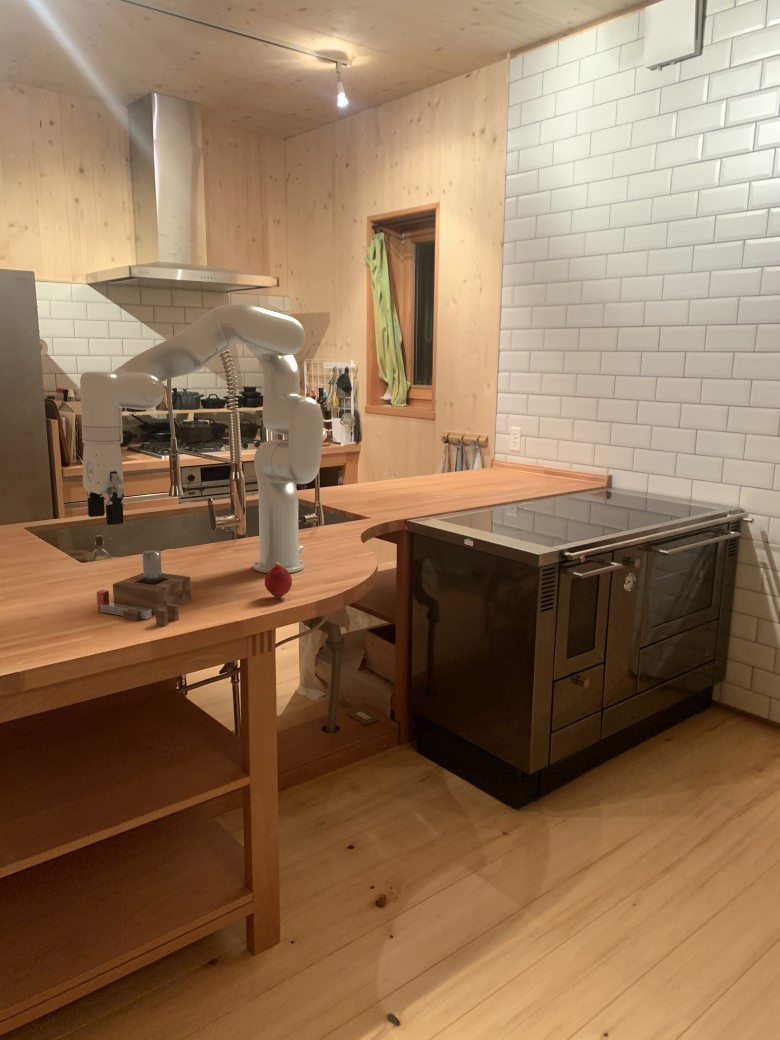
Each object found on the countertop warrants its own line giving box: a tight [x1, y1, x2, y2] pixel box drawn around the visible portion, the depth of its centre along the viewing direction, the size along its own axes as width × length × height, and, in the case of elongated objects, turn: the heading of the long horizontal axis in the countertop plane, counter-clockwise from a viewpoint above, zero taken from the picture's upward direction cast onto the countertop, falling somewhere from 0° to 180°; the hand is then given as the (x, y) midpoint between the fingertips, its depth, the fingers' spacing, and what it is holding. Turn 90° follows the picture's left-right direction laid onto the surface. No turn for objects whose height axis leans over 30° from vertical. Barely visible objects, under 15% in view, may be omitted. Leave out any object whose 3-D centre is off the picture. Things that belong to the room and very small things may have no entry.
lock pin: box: [96, 589, 153, 620], centre depth 153 cm, size 2×12×4 cm, turn 69°
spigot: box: [142, 549, 163, 585], centre depth 160 cm, size 4×4×10 cm
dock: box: [112, 572, 192, 627], centre depth 158 cm, size 16×16×5 cm
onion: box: [264, 562, 293, 599], centre depth 166 cm, size 6×6×8 cm
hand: (105, 520), depth 156 cm, fingers open, 9 cm apart
